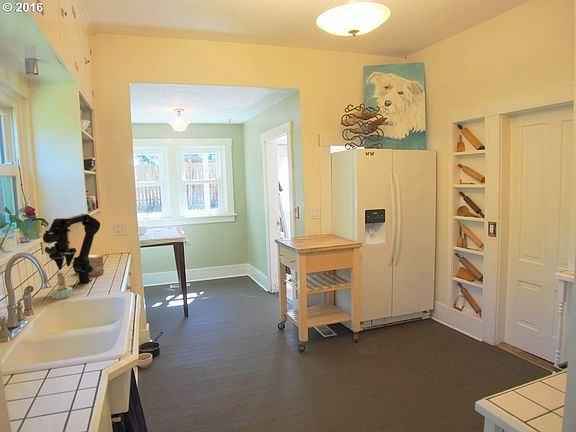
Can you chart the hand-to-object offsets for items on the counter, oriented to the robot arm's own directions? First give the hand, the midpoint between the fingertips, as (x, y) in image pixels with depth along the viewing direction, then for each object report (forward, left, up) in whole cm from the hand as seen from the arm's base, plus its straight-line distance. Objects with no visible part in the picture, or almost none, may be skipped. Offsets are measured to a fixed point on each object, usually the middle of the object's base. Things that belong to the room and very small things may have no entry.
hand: (64, 267), depth 215 cm
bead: (+16, +6, -12) cm, 21 cm away
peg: (+16, +6, -12) cm, 21 cm away
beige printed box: (-40, -4, -12) cm, 42 cm away
